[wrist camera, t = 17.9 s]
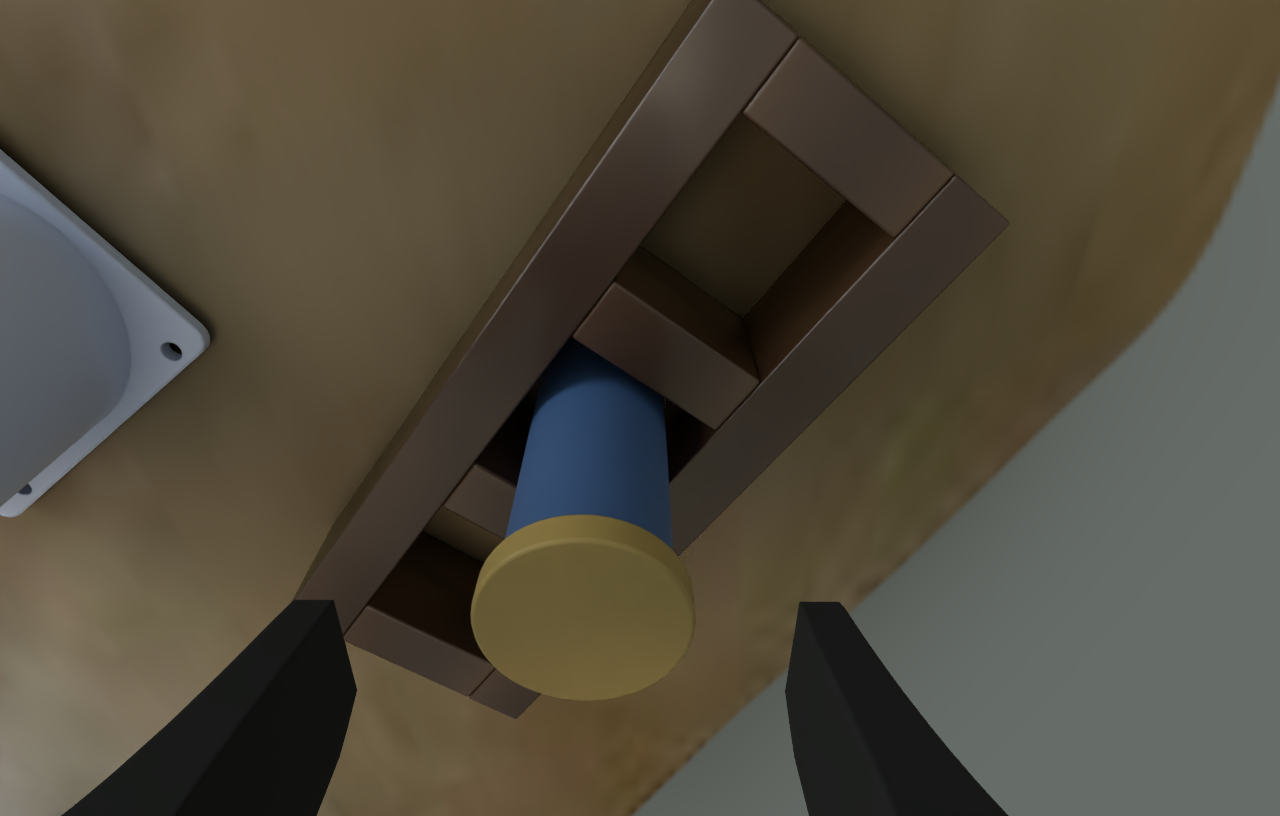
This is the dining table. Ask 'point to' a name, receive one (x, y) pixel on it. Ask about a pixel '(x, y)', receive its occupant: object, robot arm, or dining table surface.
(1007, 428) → the dining table surface
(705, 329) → the holder
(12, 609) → the dining table surface
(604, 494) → the capped tube
